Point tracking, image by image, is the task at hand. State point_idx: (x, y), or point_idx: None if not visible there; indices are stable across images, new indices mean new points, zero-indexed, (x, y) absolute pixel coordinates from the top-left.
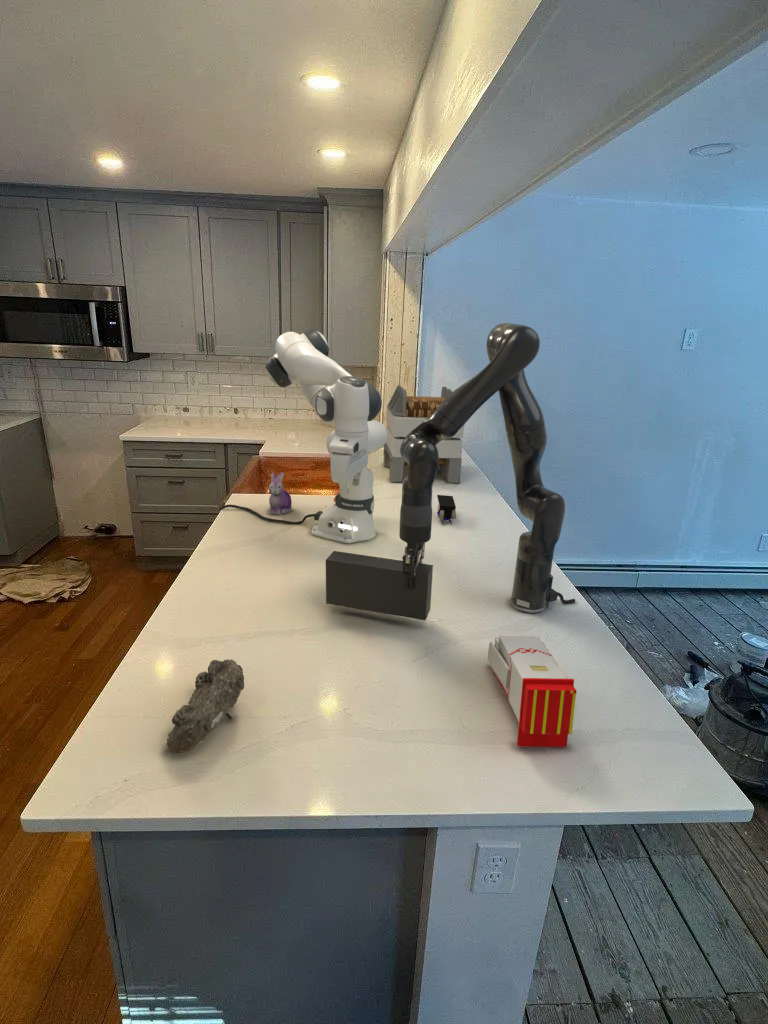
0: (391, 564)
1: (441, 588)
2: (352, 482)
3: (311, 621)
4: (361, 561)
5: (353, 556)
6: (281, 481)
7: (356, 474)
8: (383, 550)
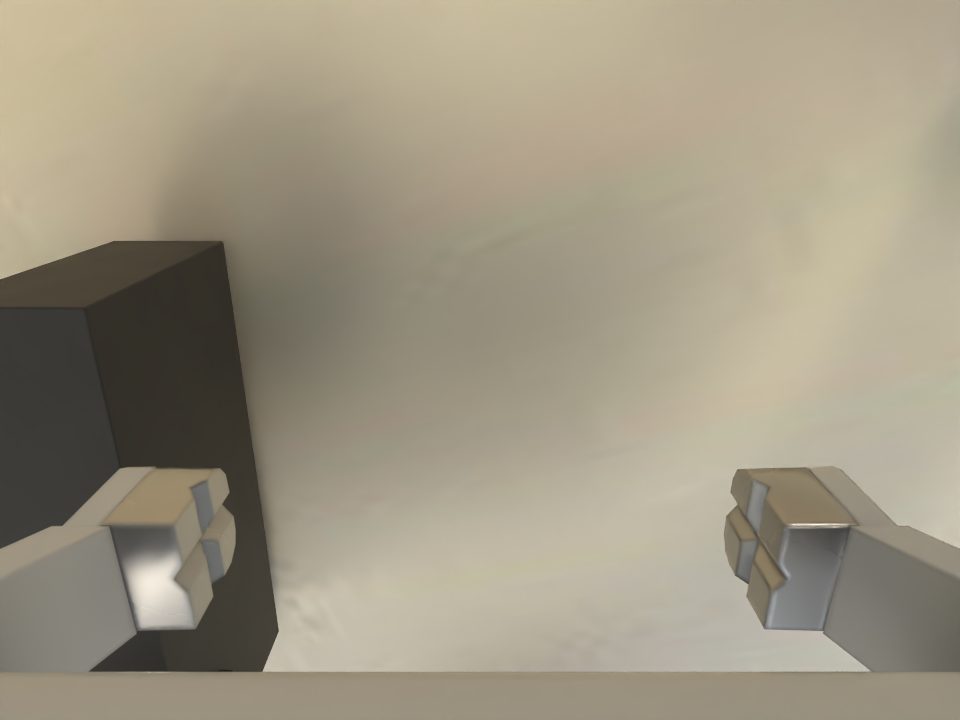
0: (97, 668)
1: (555, 590)
2: (768, 491)
3: (47, 194)
4: (34, 523)
5: (74, 460)
6: None
7: (942, 640)
8: (911, 276)
